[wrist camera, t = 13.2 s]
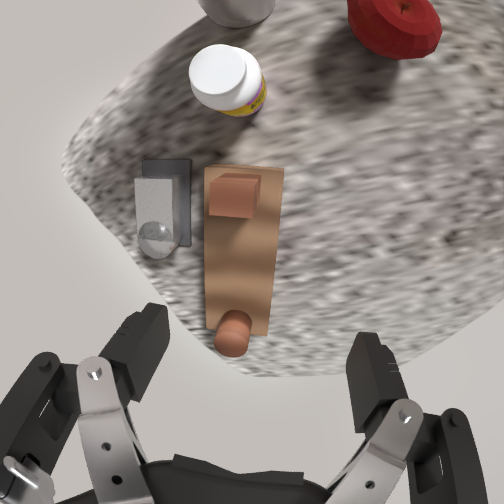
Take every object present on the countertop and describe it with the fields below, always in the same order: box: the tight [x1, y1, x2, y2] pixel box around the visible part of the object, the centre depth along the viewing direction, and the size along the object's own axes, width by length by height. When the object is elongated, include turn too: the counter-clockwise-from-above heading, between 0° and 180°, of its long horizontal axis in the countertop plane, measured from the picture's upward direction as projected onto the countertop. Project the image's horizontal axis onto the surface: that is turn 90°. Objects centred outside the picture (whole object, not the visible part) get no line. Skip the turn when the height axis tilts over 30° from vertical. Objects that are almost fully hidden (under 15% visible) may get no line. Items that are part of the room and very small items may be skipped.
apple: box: [347, 0, 442, 60], centre depth 19 cm, size 11×11×12 cm
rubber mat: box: [142, 159, 191, 246], centre depth 36 cm, size 12×7×1 cm, turn 176°
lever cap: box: [134, 174, 184, 259], centre depth 35 cm, size 11×5×4 cm, turn 176°
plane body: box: [204, 164, 284, 357], centre depth 33 cm, size 23×9×11 cm, turn 176°
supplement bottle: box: [189, 44, 267, 117], centre depth 24 cm, size 7×7×13 cm
